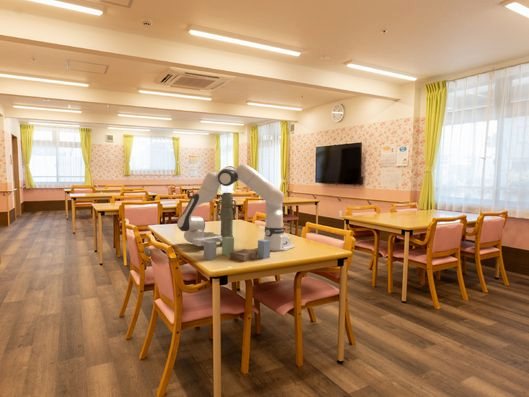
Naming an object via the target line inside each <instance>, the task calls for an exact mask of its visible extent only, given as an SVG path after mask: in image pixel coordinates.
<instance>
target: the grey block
mask: <svg viewBox="0 0 529 397" xmlns="http://www.w3.org/2000/svg"><path fill="white" fill-rule="evenodd" d="M203 259H204V260H206V261H214V260H217V242H216V241H212V240H209V241H204V246H203Z"/></svg>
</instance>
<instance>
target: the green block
mask: <svg viewBox="0 0 529 397" xmlns="http://www.w3.org/2000/svg"><path fill="white" fill-rule="evenodd" d="M231 252H235V237H234V236H233V237H222V246H221V255H224V256H230V253H231Z"/></svg>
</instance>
